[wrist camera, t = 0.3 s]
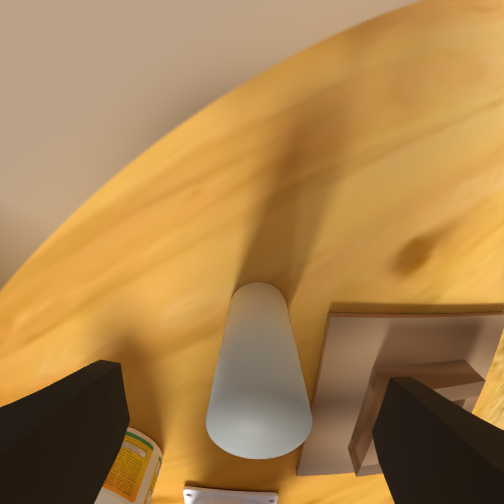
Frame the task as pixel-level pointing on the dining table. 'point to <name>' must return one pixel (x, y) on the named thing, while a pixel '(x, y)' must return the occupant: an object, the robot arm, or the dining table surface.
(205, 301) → the dining table surface
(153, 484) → the supplement bottle
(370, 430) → the socket block
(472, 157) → the dining table surface
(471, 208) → the dining table surface
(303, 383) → the peg
